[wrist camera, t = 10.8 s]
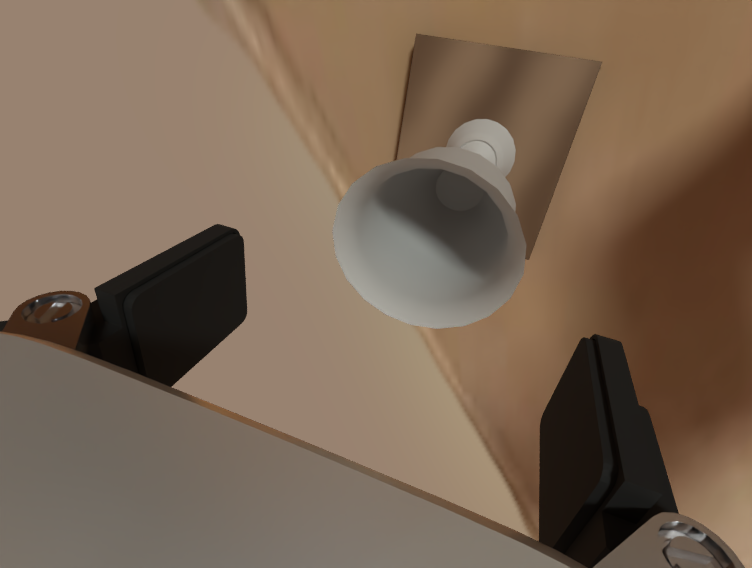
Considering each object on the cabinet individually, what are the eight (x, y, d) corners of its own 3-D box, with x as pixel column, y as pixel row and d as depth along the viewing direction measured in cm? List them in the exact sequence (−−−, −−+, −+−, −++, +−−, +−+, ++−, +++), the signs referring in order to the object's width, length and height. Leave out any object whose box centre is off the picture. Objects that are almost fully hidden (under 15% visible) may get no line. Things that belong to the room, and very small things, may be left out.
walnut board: (599, 61, 26) (602, 61, 25) (529, 252, 34) (528, 259, 33) (421, 34, 29) (416, 33, 28) (391, 217, 36) (386, 223, 35)
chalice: (544, 113, 27) (553, 178, 13) (517, 208, 31) (499, 349, 16) (438, 98, 29) (335, 141, 14) (424, 191, 33) (329, 302, 18)
